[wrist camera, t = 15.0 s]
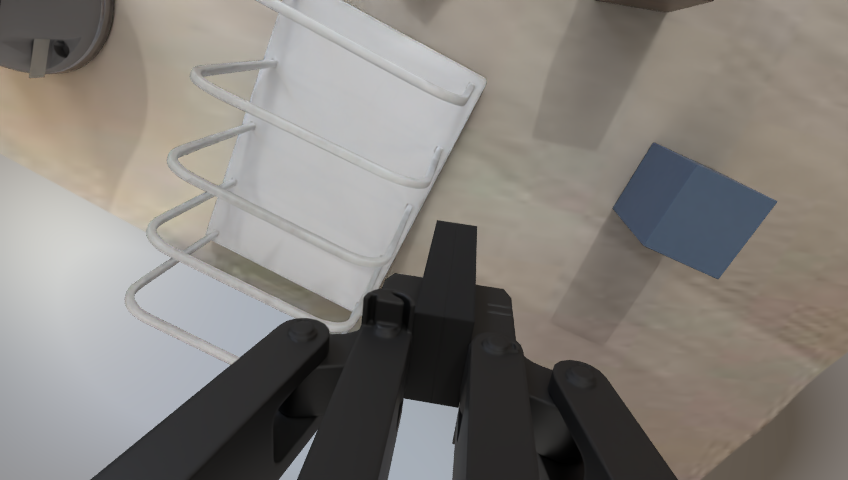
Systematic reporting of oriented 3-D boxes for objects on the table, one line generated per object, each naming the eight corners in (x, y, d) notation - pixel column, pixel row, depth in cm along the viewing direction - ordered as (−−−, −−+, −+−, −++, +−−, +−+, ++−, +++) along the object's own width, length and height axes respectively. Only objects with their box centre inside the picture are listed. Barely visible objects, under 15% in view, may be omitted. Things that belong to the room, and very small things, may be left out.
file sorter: (299, -23, 39) (188, -71, 24) (488, 79, 40) (490, 91, 25) (213, 231, 48) (95, 306, 34) (368, 309, 49) (318, 414, 35)
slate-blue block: (612, 208, 42) (643, 245, 34) (653, 142, 40) (697, 164, 32) (672, 235, 42) (718, 279, 34) (717, 171, 40) (778, 201, 32)
